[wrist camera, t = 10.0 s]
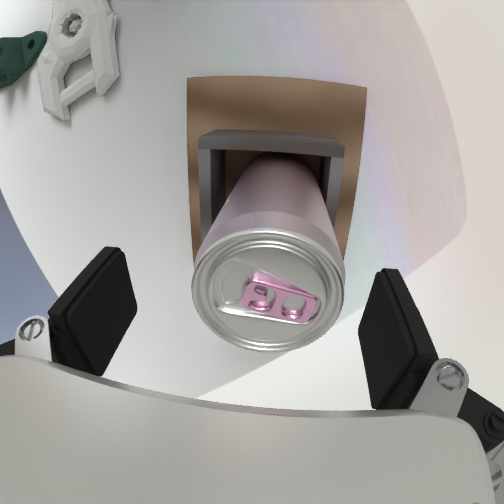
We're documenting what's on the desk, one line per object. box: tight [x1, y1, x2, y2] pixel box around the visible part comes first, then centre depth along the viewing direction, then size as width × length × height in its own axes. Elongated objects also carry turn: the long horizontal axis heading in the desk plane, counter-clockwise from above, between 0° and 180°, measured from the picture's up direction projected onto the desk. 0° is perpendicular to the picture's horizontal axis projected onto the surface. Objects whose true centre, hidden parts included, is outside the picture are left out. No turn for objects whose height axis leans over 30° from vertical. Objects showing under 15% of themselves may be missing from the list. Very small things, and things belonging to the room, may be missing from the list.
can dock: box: [187, 76, 367, 265], centre depth 22 cm, size 18×14×6 cm
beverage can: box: [191, 151, 345, 352], centre depth 17 cm, size 6×6×15 cm
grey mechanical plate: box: [37, 0, 120, 121], centre depth 17 cm, size 18×3×10 cm
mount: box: [0, 31, 47, 88], centre depth 17 cm, size 11×4×5 cm, turn 104°
